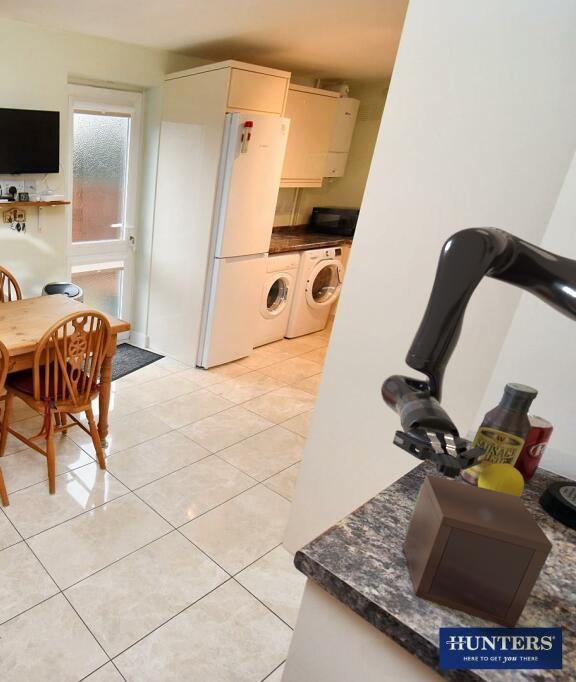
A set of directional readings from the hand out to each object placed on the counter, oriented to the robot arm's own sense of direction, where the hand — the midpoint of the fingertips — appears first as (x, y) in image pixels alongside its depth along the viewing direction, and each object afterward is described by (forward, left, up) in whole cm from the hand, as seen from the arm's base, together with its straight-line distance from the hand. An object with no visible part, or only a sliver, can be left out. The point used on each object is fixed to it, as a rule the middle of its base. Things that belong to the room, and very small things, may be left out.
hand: (451, 472), depth 69 cm
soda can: (-30, 0, -10) cm, 32 cm away
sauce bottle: (-22, -1, -10) cm, 25 cm away
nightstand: (+11, +7, -10) cm, 17 cm away
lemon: (-16, +3, -10) cm, 19 cm away
